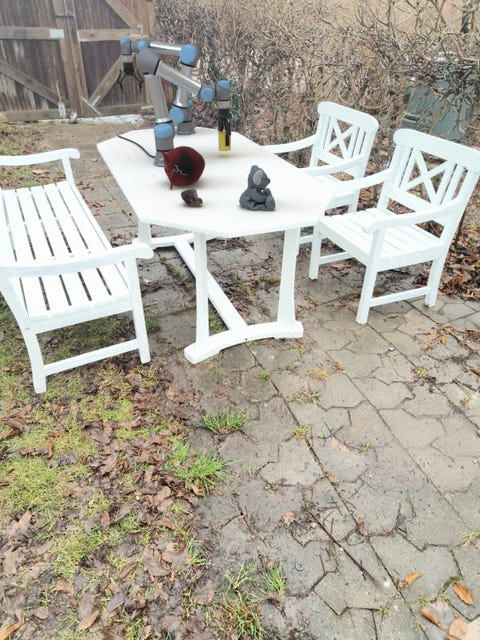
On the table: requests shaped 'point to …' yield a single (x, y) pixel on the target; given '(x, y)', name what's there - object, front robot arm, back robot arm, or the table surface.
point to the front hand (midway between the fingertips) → (224, 144)
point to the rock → (191, 197)
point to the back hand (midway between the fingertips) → (131, 93)
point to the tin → (223, 141)
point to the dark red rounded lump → (183, 165)
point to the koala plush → (257, 191)
